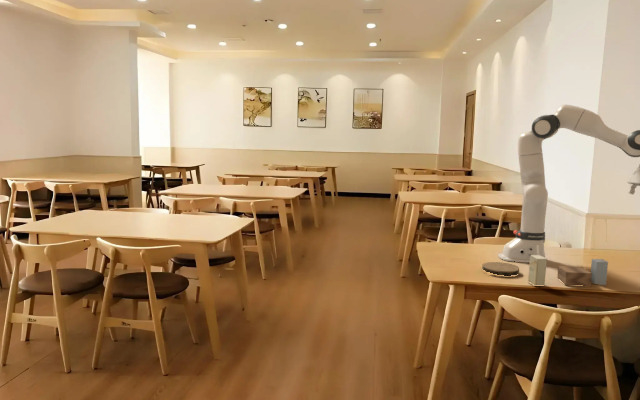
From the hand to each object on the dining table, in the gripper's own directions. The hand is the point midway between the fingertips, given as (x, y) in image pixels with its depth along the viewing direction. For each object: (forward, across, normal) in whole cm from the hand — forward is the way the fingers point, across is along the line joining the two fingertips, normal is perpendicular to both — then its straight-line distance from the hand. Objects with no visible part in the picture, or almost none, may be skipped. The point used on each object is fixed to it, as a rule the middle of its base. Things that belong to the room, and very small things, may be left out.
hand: (636, 194), depth 222 cm
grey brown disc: (+57, -1, -37) cm, 68 cm away
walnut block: (+47, +12, -12) cm, 50 cm away
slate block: (+43, +13, -3) cm, 45 cm away
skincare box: (+54, +17, -28) cm, 63 cm away
